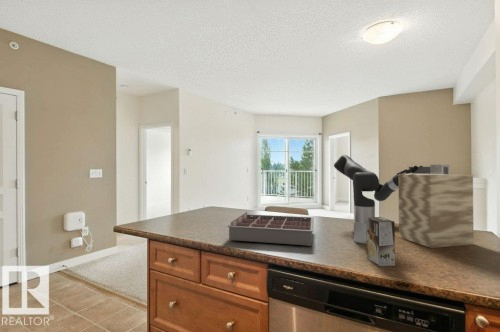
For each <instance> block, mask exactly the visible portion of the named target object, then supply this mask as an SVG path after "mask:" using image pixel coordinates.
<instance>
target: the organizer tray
mask: <svg viewBox="0 0 500 332" xmlns="http://www.w3.org/2000/svg"><path fill="white" fill-rule="evenodd" d="M314 218H315V217H313V216H293V215H291V216H290V215H289V216H288V215H266V214H248V211H246V212H244V213H242V214H241V215H239V216H238V217H236V218H234V219H233V220H232V221H230V224H228V226H226V227H227V228H228V239H229V241H241V242H242V241H243V242H252V243H253V242H257V243H268V244H281V245H282V244H283V245H295V246H296V245H298V246H299V245H300V246H312V244H313V239H312V238H313V232H314Z"/></svg>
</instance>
